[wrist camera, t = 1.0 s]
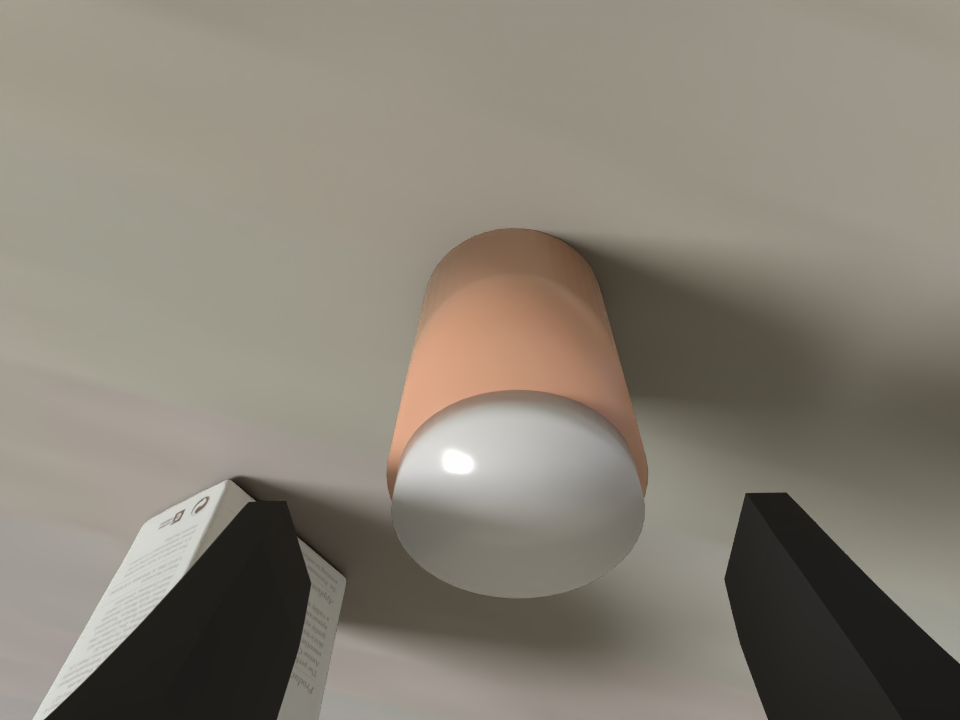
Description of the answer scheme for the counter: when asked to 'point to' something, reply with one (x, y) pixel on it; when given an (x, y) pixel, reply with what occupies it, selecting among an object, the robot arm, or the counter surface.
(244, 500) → the skincare box
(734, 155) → the counter surface
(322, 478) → the counter surface
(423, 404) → the salt shaker
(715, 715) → the counter surface
